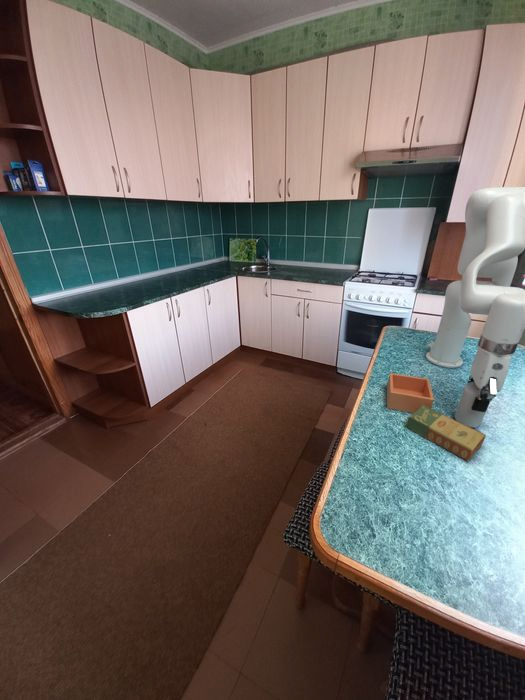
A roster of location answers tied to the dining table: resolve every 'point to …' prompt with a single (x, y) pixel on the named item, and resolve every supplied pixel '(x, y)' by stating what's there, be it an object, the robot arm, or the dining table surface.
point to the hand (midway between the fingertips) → (474, 401)
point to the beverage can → (469, 406)
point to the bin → (408, 393)
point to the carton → (446, 432)
